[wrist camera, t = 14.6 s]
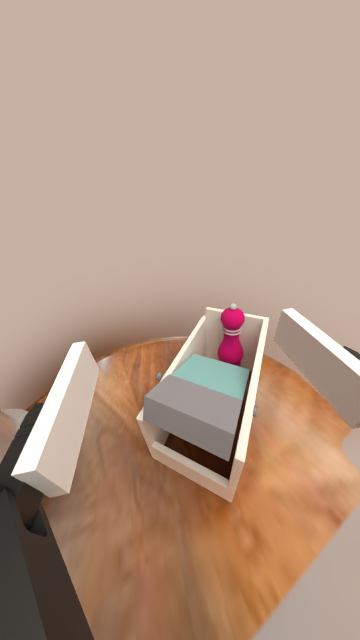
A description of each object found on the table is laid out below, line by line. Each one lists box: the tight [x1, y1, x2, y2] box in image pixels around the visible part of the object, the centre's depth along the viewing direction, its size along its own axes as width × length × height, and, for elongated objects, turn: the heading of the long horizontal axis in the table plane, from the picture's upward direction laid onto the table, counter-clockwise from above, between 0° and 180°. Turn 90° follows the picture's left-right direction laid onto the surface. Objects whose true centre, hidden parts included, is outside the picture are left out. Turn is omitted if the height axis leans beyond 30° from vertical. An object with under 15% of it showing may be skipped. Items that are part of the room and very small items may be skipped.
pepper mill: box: [217, 303, 245, 367], centre depth 51 cm, size 7×7×20 cm
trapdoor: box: [143, 354, 250, 462], centre depth 37 cm, size 14×22×4 cm, turn 154°
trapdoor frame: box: [136, 307, 269, 503], centre depth 45 cm, size 19×34×20 cm, turn 154°
